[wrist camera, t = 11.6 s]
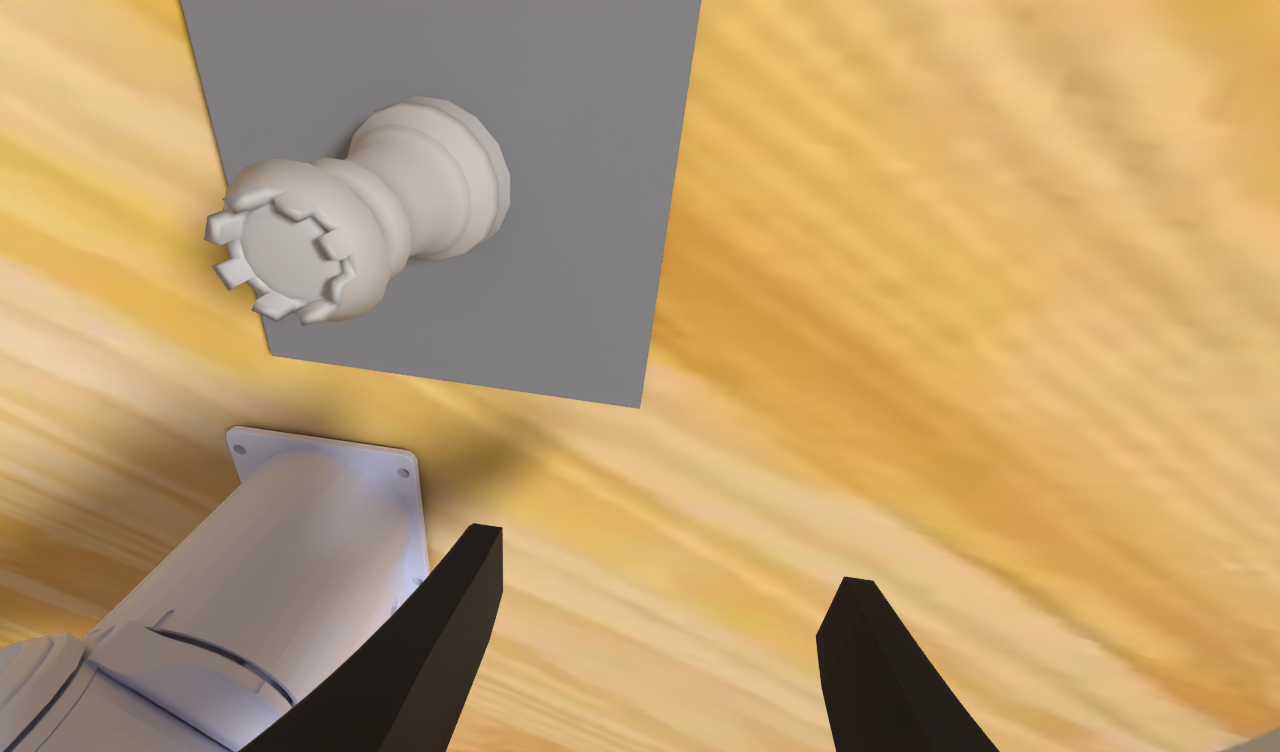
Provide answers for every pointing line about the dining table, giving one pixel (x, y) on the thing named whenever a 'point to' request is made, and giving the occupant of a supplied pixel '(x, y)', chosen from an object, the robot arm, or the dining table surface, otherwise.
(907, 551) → the dining table surface
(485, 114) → the rubber mat
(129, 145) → the dining table surface
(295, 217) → the rook chess piece
